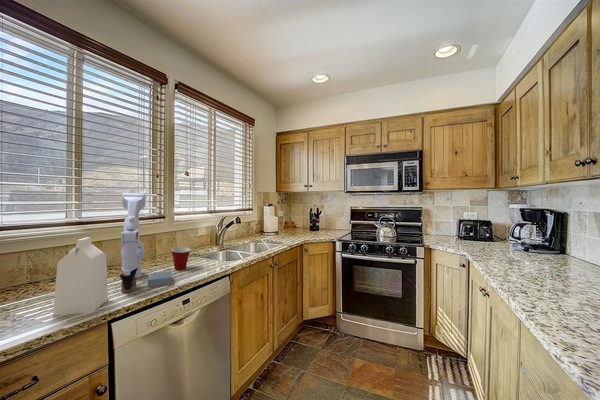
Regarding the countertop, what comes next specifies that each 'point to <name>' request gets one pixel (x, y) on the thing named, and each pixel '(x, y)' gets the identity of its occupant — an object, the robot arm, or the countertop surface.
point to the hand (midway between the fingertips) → (129, 286)
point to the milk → (81, 280)
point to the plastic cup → (180, 257)
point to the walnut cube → (131, 287)
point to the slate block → (159, 279)
